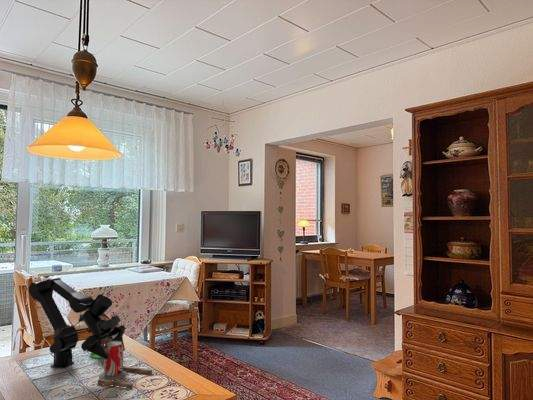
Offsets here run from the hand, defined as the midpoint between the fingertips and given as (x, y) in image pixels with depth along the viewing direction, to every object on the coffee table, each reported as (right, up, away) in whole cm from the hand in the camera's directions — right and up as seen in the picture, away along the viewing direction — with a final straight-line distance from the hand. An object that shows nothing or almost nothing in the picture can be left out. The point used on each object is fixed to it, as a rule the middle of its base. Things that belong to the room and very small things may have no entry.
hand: (115, 354), depth 149 cm
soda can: (-1, -8, +1) cm, 8 cm away
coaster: (-1, -8, 0) cm, 8 cm away
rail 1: (+3, -8, -9) cm, 12 cm away
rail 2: (+6, -9, +4) cm, 11 cm away
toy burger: (-14, -9, +23) cm, 29 cm away
